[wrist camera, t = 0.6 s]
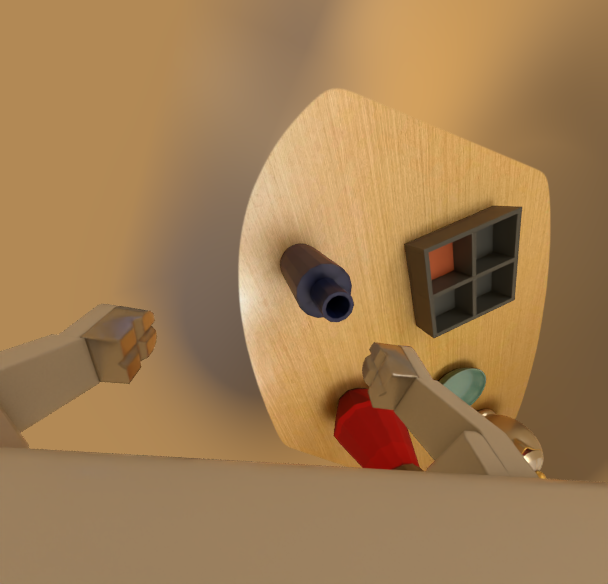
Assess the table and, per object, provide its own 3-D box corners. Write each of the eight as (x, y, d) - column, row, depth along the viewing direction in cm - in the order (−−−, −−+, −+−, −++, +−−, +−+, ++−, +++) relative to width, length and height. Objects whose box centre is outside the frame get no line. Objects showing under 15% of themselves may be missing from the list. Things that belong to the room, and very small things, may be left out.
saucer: (429, 416, 61) (436, 425, 58) (422, 378, 54) (430, 387, 52) (477, 391, 62) (486, 399, 59) (476, 351, 55) (486, 358, 53)
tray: (404, 244, 40) (423, 249, 35) (493, 205, 41) (522, 206, 37) (416, 325, 48) (433, 338, 43) (490, 290, 49) (514, 299, 45)
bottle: (312, 418, 50) (352, 541, 32) (343, 370, 47) (406, 476, 29) (367, 428, 56) (426, 537, 38) (398, 386, 53) (477, 482, 35)
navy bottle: (273, 253, 35) (296, 292, 21) (312, 237, 35) (360, 264, 21) (288, 289, 38) (317, 345, 23) (324, 273, 38) (374, 320, 24)
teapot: (455, 415, 64) (519, 481, 49) (497, 391, 64) (573, 449, 49) (462, 448, 71) (519, 514, 57) (499, 426, 72) (565, 485, 57)
